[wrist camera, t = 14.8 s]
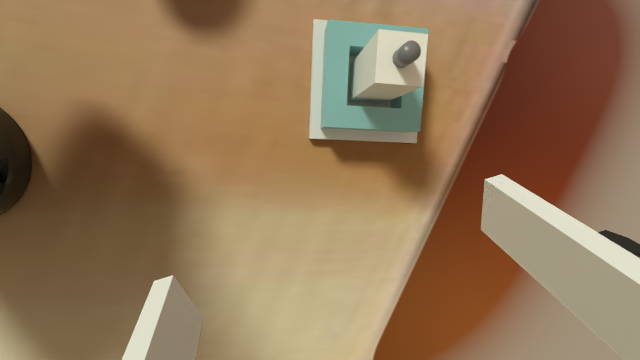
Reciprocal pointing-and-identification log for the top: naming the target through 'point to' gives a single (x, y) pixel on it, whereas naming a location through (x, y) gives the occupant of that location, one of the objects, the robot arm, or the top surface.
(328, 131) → the socket
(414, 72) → the plug
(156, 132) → the top surface
